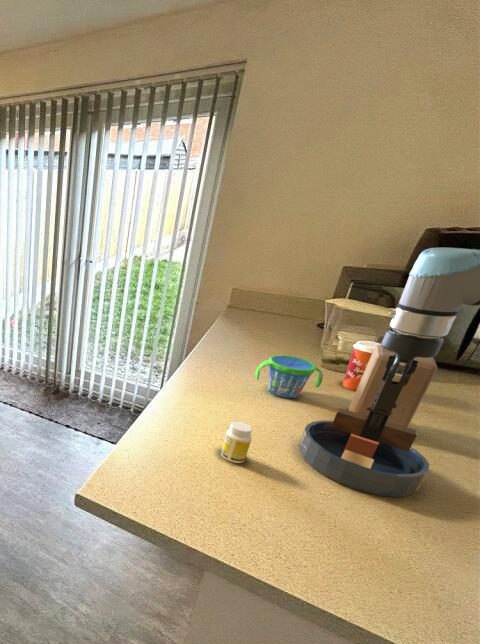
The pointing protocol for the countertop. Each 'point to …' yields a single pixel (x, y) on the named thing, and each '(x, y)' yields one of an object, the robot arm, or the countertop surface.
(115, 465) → the countertop surface
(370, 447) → the block terracotta
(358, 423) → the stick
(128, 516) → the countertop surface
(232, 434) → the supplement bottle
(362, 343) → the paper cup
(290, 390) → the snack cup
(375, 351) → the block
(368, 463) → the block beech
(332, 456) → the bowl
